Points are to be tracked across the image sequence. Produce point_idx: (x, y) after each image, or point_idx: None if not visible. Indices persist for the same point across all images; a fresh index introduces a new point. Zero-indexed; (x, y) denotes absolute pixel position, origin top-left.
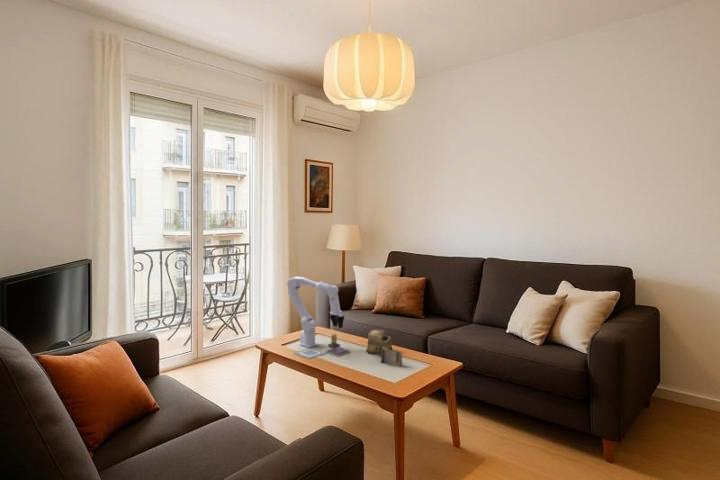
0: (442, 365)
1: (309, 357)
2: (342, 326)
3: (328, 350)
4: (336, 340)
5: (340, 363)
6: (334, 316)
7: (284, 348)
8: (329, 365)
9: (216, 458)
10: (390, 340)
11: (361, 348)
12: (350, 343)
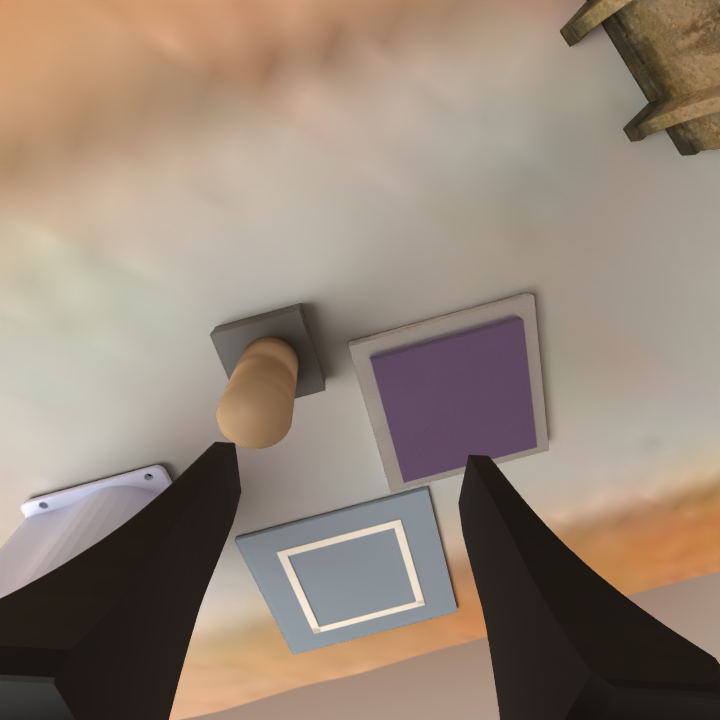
0: None
1: (440, 603)
2: (497, 471)
3: (422, 477)
4: (284, 360)
5: (671, 475)
6: (129, 696)
7: None
8: (644, 543)
9: None
10: None
11: (497, 112)
12: (253, 129)
